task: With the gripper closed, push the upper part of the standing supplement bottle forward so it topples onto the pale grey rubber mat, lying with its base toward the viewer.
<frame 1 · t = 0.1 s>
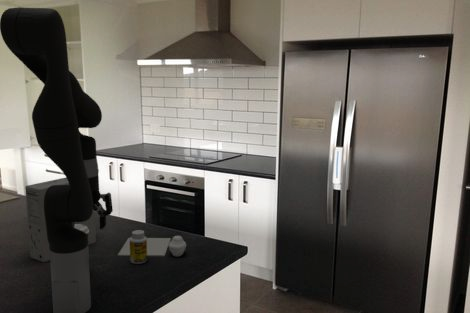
hand: (87, 228, 119), 17 cm above the counter, tool pointing down, fingers open, 8 cm apart
topple mat: (145, 247, 150), on the counter
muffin: (177, 255, 144), on the counter
cereal box: (64, 250, 147), on the counter
supplement bottle: (138, 261, 139), on the counter
coffee cup: (76, 274, 128), on the counter
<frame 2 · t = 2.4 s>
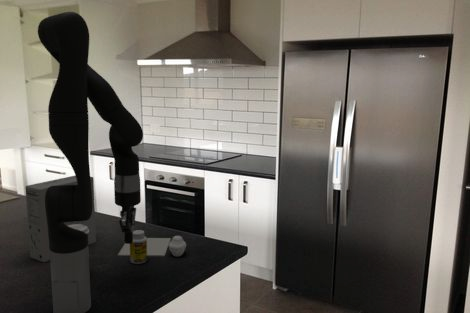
hand: (128, 242, 126), 11 cm above the counter, tool pointing down, fingers closed
nothing on the counter moved.
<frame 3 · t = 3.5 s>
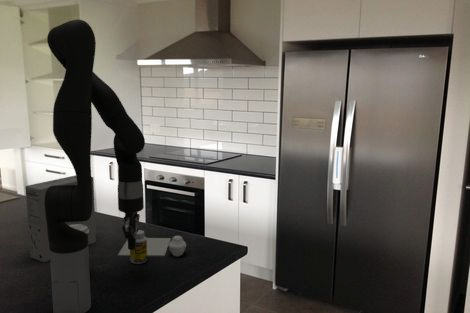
hand: (132, 248, 128), 8 cm above the counter, tool pointing down, fingers closed
nothing on the counter moved.
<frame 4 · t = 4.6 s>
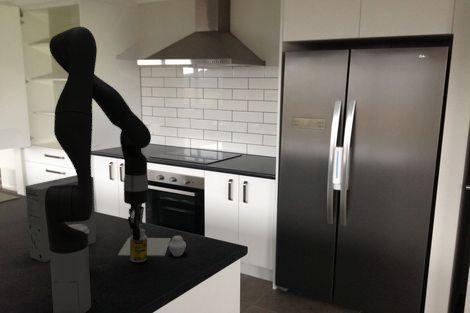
hand: (136, 239, 135), 9 cm above the counter, tool pointing down, fingers closed
supplement bottle: (138, 260, 139), on the counter, touching gripper
everything else where it was.
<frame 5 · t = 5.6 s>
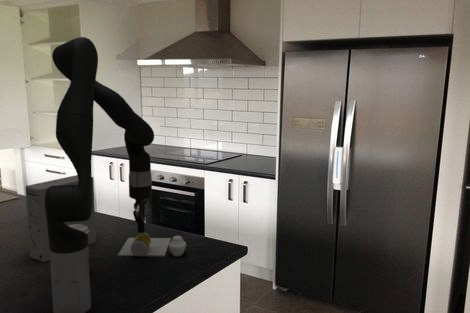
hand: (141, 232, 142), 8 cm above the counter, tool pointing down, fingers closed
supplement bottle: (138, 249, 140), point 3 cm above the counter, touching topple mat
everything else where it was.
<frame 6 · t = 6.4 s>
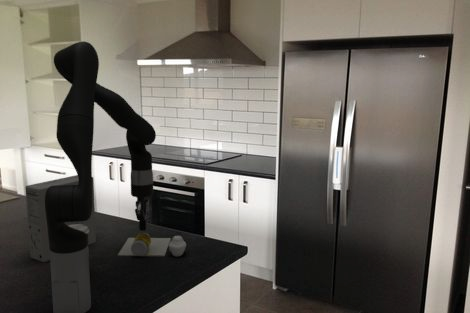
hand: (143, 229, 145), 8 cm above the counter, tool pointing down, fingers closed
nothing on the counter moved.
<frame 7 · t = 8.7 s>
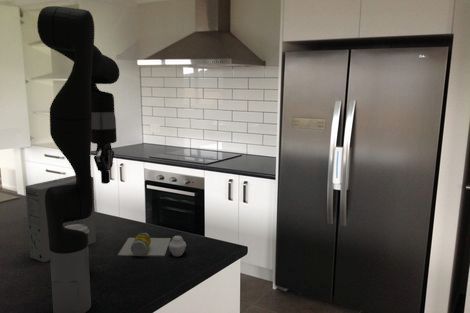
hand: (105, 182, 128), 28 cm above the counter, tool pointing down, fingers closed
nothing on the counter moved.
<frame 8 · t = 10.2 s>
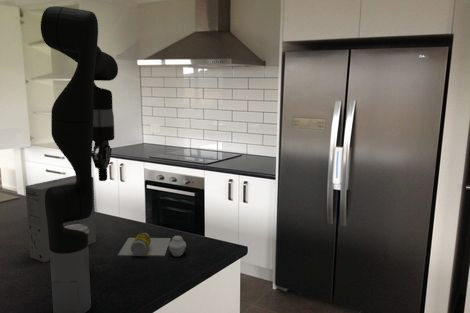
hand: (103, 180, 127), 29 cm above the counter, tool pointing down, fingers closed
nothing on the counter moved.
at the end: supplement bottle tilted 90°; supplement bottle inside the target area (1.7 cm from its centre), point 3.2 cm above the counter; the gripper is holding nothing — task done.
